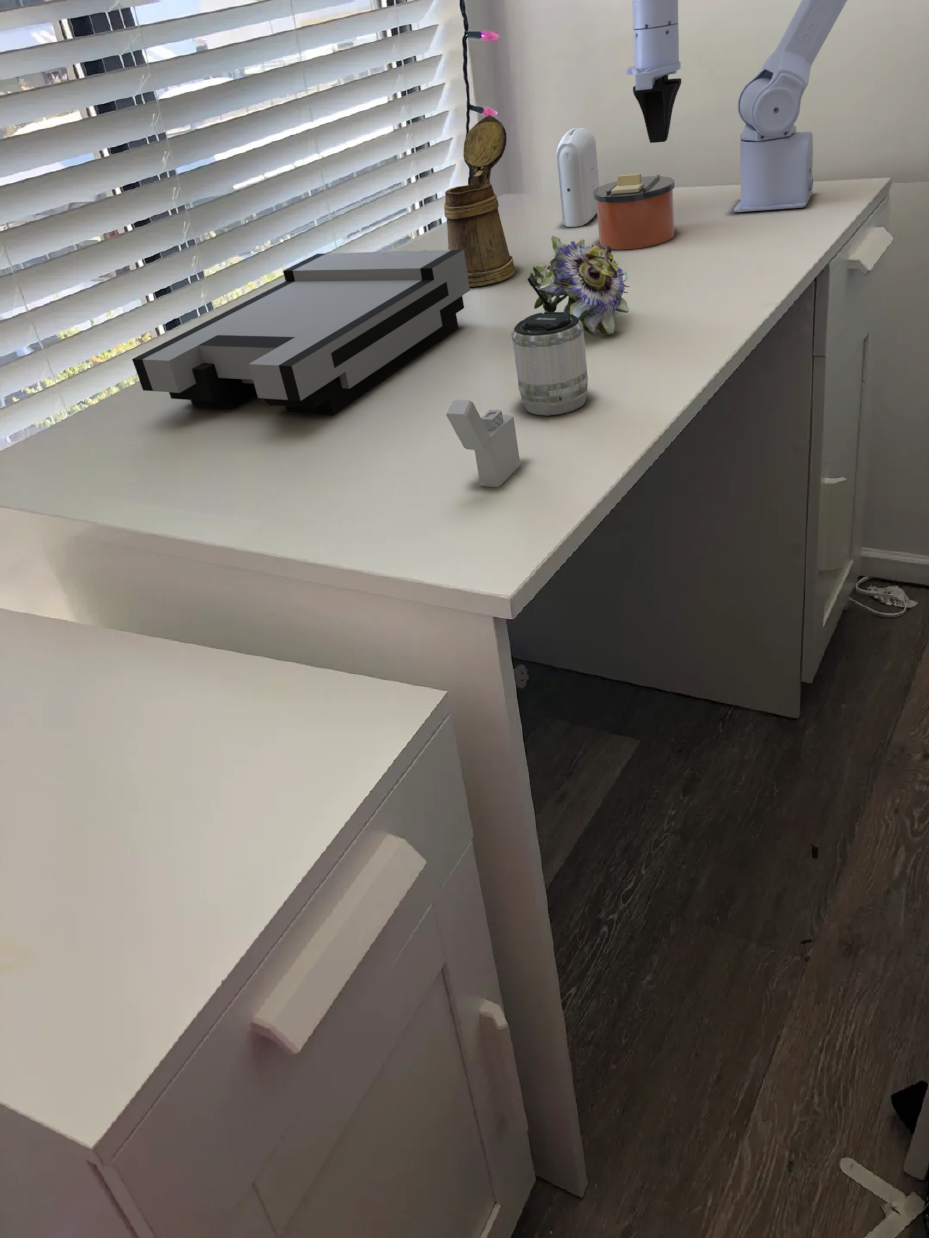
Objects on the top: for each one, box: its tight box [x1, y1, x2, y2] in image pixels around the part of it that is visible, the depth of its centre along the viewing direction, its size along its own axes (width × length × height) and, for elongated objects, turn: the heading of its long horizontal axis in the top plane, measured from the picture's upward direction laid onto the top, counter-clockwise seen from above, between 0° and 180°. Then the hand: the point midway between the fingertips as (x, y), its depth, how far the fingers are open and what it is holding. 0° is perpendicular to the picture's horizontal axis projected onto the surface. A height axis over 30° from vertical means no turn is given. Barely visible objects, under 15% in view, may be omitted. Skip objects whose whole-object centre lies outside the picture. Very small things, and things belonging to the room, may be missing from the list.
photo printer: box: [555, 126, 600, 228], centre depth 148 cm, size 10×4×12 cm, turn 160°
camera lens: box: [511, 311, 589, 417], centre depth 89 cm, size 6×6×8 cm
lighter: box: [445, 399, 521, 488], centre depth 78 cm, size 7×2×8 cm, turn 151°
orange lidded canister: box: [593, 174, 676, 251], centre depth 134 cm, size 11×11×7 cm
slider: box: [611, 172, 644, 194], centre depth 129 cm, size 4×3×2 cm
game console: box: [131, 249, 471, 417], centre depth 108 cm, size 21×32×8 cm, turn 150°
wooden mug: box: [443, 114, 516, 288], centre depth 129 cm, size 9×14×18 cm, turn 154°
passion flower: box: [526, 235, 630, 336], centre depth 106 cm, size 11×11×12 cm
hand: (658, 141), depth 136 cm, fingers closed
